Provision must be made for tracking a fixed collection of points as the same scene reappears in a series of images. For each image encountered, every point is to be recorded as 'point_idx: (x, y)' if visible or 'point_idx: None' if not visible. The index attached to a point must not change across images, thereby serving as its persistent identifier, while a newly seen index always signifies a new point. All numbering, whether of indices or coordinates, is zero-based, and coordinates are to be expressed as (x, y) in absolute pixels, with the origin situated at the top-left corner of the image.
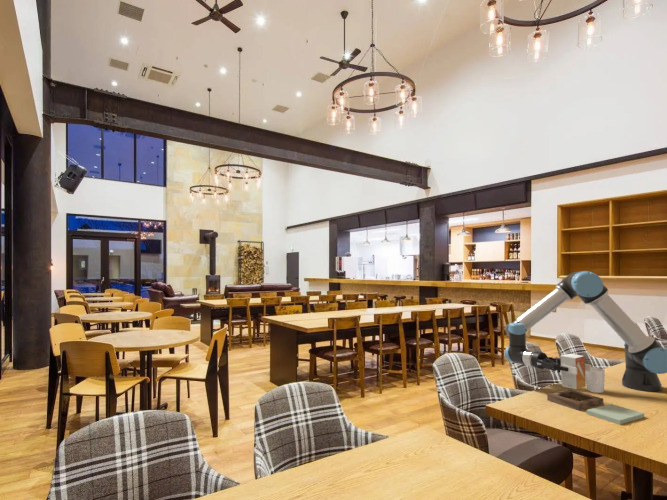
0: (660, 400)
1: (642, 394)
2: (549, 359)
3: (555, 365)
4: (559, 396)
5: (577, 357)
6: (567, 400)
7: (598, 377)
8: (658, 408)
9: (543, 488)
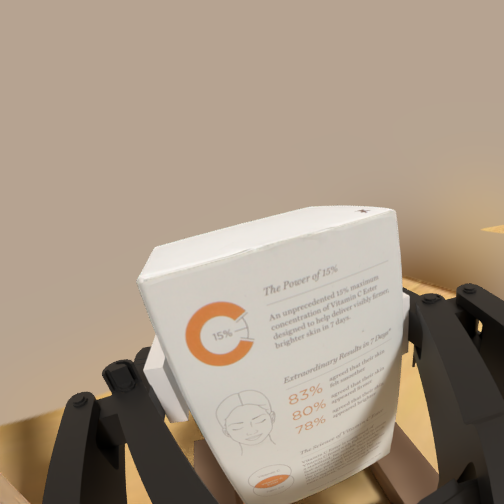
0: (33, 417)
1: (3, 448)
2: (499, 475)
3: (462, 286)
4: (402, 476)
5: (270, 216)
6: (394, 425)
7: (8, 482)
8: (103, 397)
9: (490, 229)
